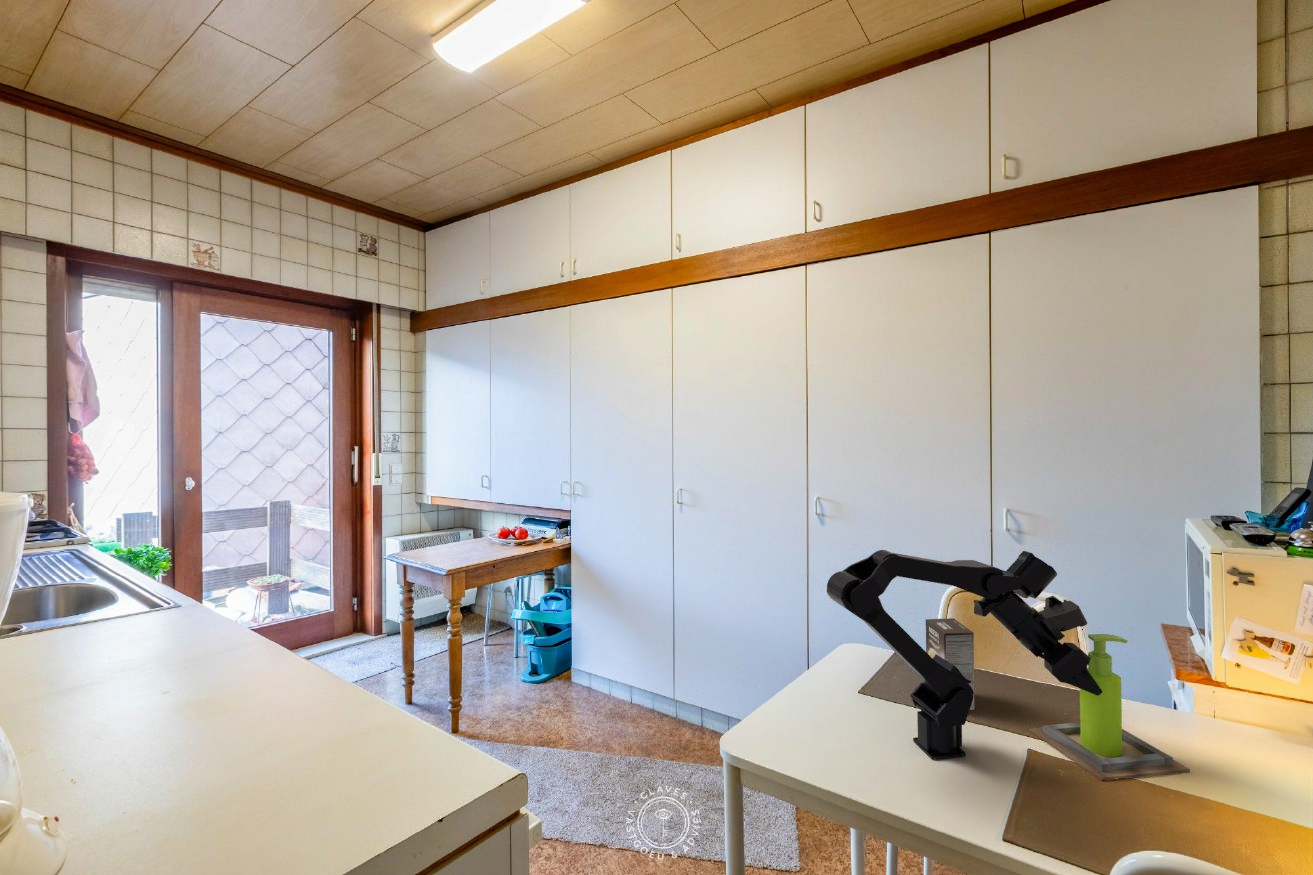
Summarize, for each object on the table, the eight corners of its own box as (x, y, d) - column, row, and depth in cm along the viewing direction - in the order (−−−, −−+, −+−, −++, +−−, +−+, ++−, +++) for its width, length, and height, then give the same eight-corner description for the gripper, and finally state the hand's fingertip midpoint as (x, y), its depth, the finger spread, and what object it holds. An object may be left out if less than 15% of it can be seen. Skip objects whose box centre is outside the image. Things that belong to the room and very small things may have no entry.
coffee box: (925, 691, 130) (923, 618, 130) (954, 690, 130) (953, 617, 130) (944, 711, 121) (943, 632, 121) (976, 710, 121) (975, 631, 121)
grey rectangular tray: (1101, 780, 97) (1101, 770, 97) (1029, 731, 113) (1029, 722, 113) (1190, 771, 98) (1189, 761, 98) (1106, 724, 114) (1106, 715, 114)
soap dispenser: (1136, 759, 102) (1135, 642, 101) (1091, 755, 103) (1089, 640, 103) (1117, 741, 107) (1115, 630, 107) (1074, 738, 109) (1072, 629, 108)
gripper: (1075, 601, 98) (1155, 674, 95) (1033, 574, 116) (1098, 634, 113) (1022, 646, 100) (1098, 718, 97) (988, 612, 118) (1052, 672, 115)
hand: (1087, 682), depth 106 cm, fingers open, 9 cm apart
